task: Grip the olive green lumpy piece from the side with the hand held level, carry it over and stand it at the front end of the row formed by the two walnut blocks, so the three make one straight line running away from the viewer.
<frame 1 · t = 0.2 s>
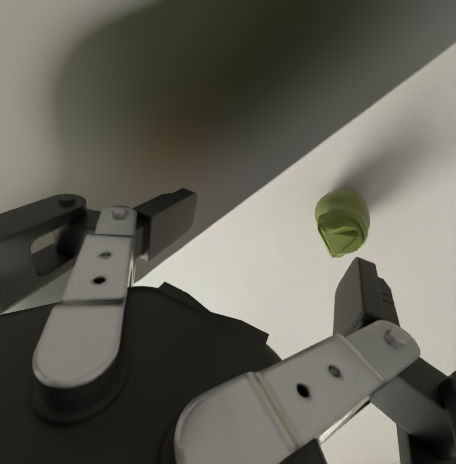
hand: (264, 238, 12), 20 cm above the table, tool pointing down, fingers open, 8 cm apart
olive green lumpy piece: (340, 206, 30), on the table
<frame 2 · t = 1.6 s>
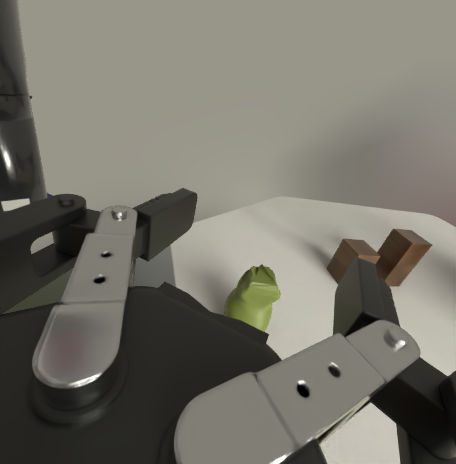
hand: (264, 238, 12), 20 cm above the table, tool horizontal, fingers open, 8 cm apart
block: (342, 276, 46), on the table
olive green lumpy piece: (240, 331, 32), on the table
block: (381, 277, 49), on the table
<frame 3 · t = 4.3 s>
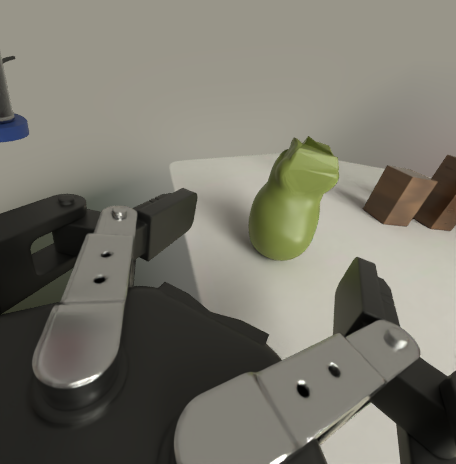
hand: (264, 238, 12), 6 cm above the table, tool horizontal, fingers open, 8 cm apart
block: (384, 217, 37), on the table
olive green lumpy piece: (270, 254, 23), on the table
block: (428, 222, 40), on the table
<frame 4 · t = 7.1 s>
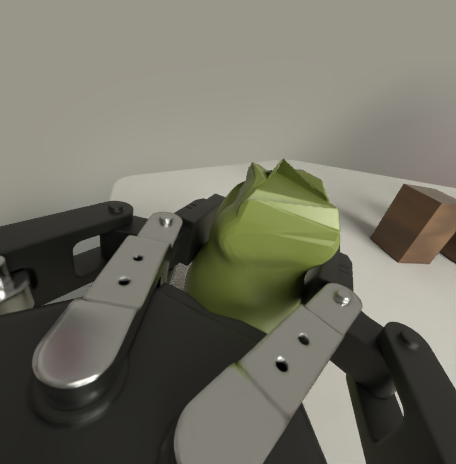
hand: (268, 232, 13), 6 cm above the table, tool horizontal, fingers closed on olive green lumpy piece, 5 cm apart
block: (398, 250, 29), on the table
olive green lumpy piece: (224, 346, 14), on the table, touching gripper
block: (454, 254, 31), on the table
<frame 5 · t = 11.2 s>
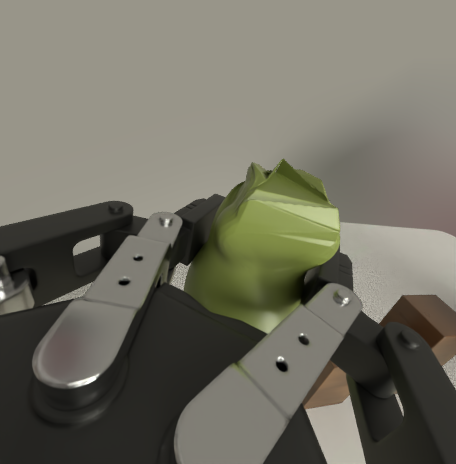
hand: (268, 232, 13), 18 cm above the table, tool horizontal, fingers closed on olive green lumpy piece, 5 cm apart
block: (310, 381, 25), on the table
olive green lumpy piece: (224, 346, 14), point 11 cm above the table, touching gripper
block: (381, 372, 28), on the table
when the fingers open (6 cm above the table, at t = 15.2 s): olive green lumpy piece stays where it is, on the table.
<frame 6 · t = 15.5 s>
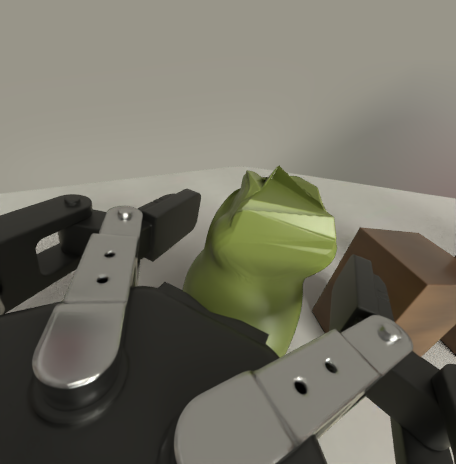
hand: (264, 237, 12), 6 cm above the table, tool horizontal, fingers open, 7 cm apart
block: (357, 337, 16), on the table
olive green lumpy piece: (224, 351, 14), on the table
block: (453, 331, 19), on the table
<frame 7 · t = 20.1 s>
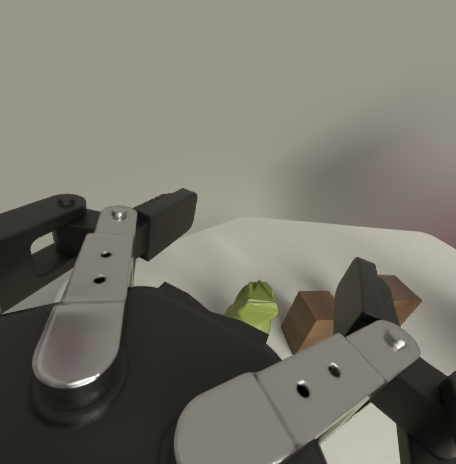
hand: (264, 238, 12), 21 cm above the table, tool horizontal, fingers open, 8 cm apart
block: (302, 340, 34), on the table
olive green lumpy piece: (238, 347, 31), on the table
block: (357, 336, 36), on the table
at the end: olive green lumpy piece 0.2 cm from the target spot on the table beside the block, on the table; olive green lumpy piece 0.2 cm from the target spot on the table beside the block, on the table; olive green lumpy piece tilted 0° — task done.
